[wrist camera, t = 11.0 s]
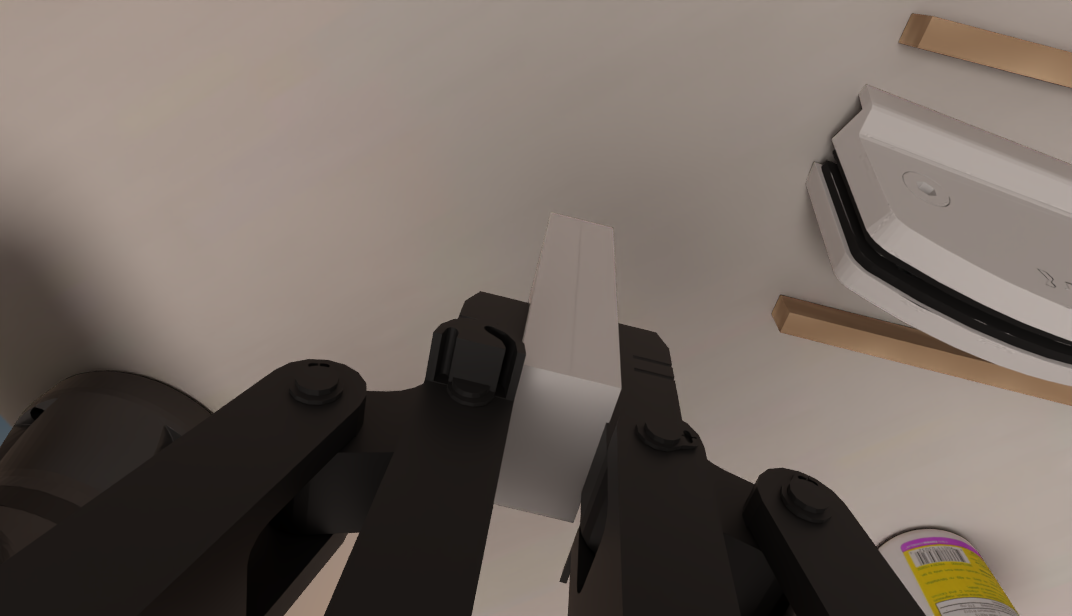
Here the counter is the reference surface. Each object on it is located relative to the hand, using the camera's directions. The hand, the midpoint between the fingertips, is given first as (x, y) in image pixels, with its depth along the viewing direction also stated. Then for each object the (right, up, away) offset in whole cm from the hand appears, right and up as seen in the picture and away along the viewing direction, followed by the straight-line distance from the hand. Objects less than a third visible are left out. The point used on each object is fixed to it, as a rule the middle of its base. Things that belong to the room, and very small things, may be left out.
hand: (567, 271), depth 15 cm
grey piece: (+21, +4, +16) cm, 26 cm away
